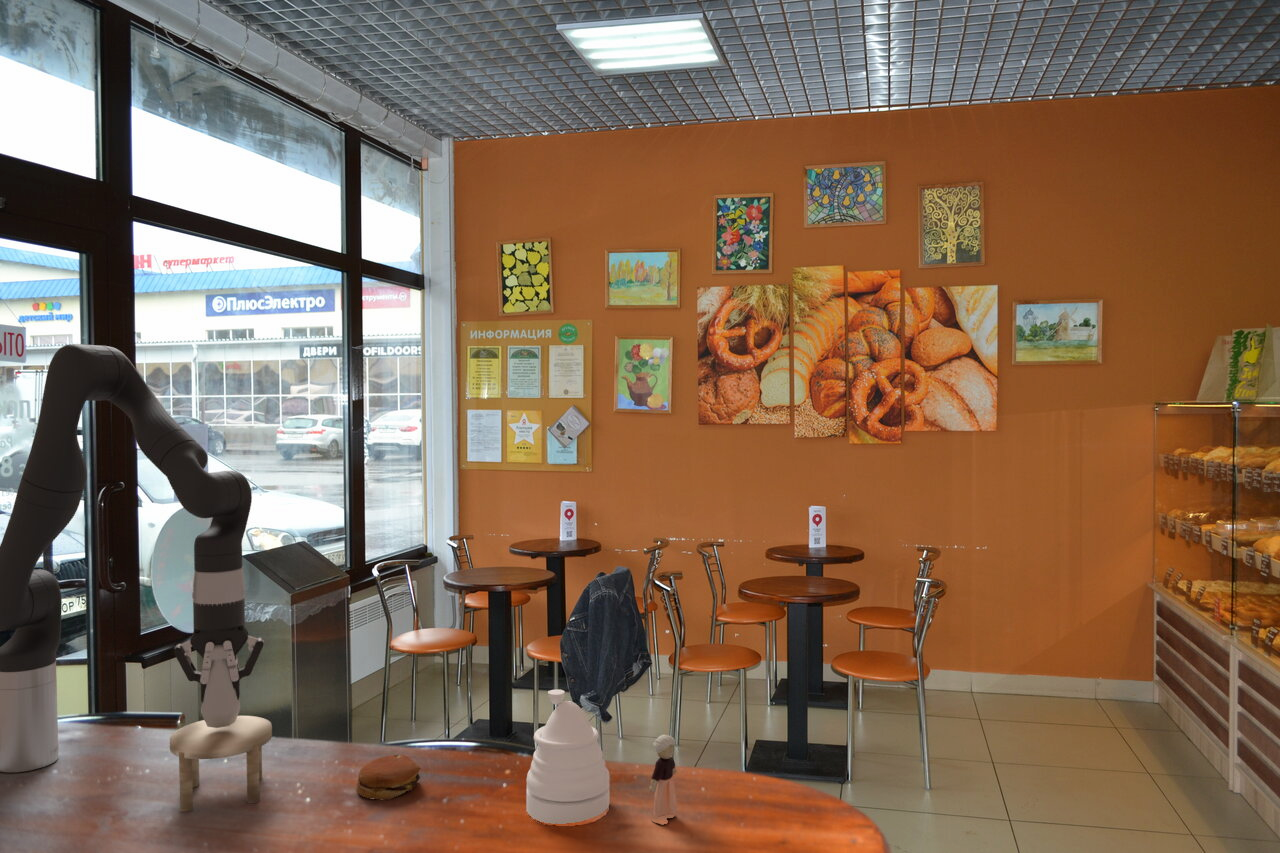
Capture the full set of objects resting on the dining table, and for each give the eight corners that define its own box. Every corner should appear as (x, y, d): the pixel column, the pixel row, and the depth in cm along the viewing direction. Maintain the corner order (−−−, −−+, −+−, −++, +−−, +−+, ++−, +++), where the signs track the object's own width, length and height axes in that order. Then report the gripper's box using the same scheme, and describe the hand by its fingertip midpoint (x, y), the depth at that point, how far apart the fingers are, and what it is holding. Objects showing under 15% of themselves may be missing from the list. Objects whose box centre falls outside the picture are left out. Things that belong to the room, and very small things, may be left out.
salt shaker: (247, 718, 157) (246, 638, 157) (228, 730, 152) (227, 648, 151) (213, 716, 158) (212, 637, 158) (193, 729, 152) (192, 647, 152)
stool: (164, 819, 146) (163, 754, 145) (177, 781, 160) (176, 721, 160) (271, 805, 151) (270, 742, 150) (274, 769, 165) (273, 711, 164)
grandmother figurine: (670, 830, 142) (670, 745, 142) (645, 826, 143) (645, 742, 143) (683, 808, 150) (683, 727, 149) (659, 805, 151) (659, 725, 150)
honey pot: (511, 819, 146) (511, 701, 145) (548, 786, 158) (548, 677, 157) (590, 832, 142) (589, 711, 141) (622, 797, 154) (621, 685, 153)
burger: (353, 803, 152) (353, 774, 152) (362, 779, 161) (362, 752, 161) (417, 800, 153) (417, 771, 153) (423, 777, 162) (423, 749, 162)
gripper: (267, 589, 160) (268, 692, 161) (173, 595, 155) (175, 701, 156) (265, 598, 153) (266, 706, 154) (167, 605, 148) (169, 716, 149)
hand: (220, 703), depth 155 cm, fingers closed on salt shaker, 3 cm apart
